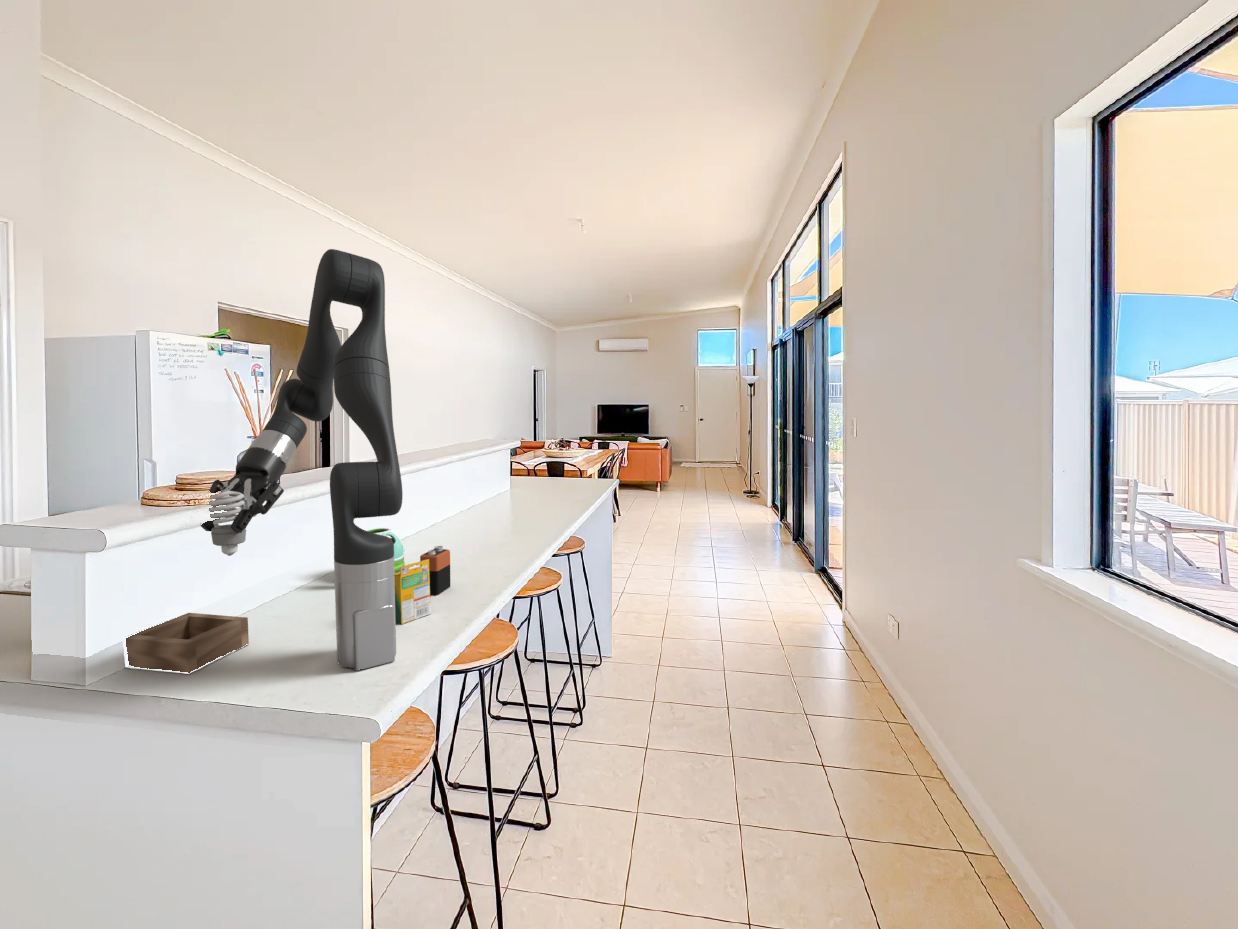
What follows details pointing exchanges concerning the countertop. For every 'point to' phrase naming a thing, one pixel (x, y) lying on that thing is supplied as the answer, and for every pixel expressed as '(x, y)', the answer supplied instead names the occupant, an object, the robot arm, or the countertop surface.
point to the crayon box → (412, 592)
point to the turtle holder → (398, 546)
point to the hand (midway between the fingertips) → (220, 529)
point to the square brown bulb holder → (187, 642)
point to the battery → (438, 569)
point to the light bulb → (224, 533)
